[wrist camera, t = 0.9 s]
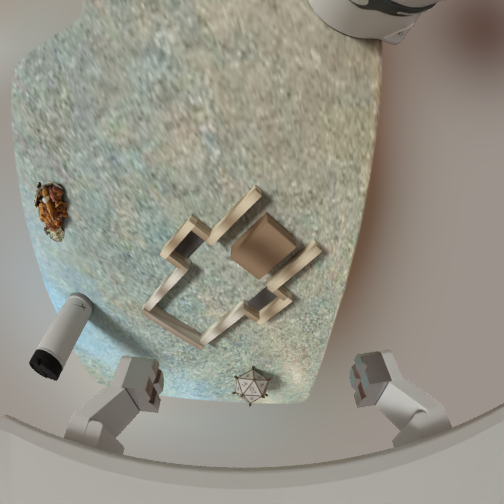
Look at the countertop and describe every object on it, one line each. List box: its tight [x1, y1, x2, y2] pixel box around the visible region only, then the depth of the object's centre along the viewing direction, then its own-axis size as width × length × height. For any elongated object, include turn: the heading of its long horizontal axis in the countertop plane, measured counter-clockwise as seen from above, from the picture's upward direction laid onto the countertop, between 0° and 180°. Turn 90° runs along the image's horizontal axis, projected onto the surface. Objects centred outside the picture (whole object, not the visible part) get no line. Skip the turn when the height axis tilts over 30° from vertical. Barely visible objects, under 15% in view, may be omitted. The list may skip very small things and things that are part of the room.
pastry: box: [34, 182, 68, 242], centre depth 42 cm, size 7×12×4 cm, turn 175°
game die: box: [232, 366, 271, 406], centre depth 61 cm, size 9×8×10 cm
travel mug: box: [29, 293, 93, 381], centre depth 45 cm, size 6×7×20 cm
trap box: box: [141, 185, 322, 350], centre depth 49 cm, size 31×22×3 cm
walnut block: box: [230, 212, 296, 279], centre depth 45 cm, size 8×6×4 cm
